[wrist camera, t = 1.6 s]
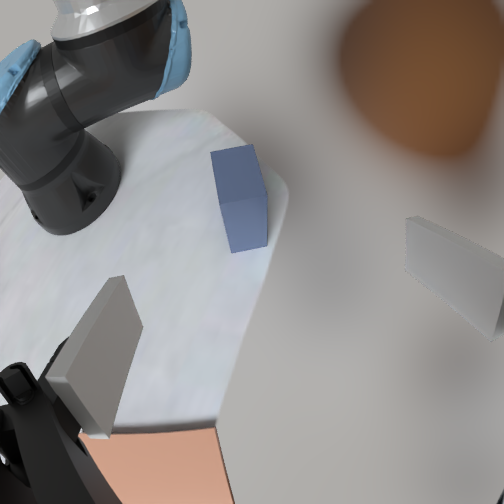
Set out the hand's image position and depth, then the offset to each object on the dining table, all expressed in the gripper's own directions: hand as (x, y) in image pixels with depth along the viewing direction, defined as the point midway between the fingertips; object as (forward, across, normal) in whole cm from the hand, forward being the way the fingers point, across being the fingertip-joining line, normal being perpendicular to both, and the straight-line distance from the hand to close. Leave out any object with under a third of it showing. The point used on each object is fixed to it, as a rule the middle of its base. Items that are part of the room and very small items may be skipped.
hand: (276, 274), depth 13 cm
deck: (+22, 0, -4) cm, 23 cm away
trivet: (+3, -15, -24) cm, 28 cm away
